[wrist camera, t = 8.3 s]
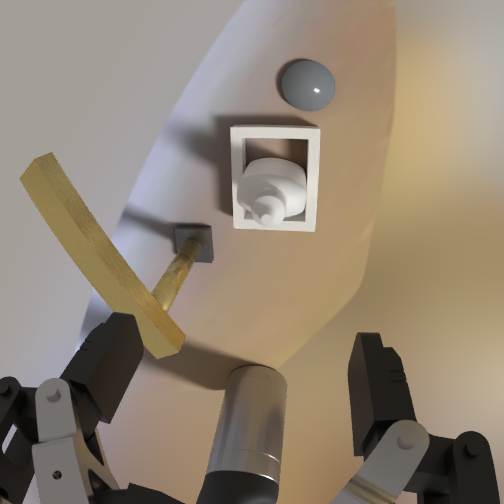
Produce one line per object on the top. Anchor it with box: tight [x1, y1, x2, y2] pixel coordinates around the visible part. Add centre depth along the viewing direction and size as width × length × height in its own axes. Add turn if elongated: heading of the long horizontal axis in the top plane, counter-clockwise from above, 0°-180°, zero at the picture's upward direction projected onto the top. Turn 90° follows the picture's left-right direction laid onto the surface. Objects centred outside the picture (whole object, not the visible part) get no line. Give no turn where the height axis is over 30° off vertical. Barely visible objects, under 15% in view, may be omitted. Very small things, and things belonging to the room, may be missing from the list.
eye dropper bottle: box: [237, 158, 307, 227], centre depth 26 cm, size 4×6×12 cm
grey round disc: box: [281, 60, 335, 111], centre depth 26 cm, size 5×5×1 cm
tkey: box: [20, 152, 201, 359], centre depth 27 cm, size 18×2×14 cm, turn 31°
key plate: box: [174, 226, 214, 263], centre depth 36 cm, size 4×4×1 cm
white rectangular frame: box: [230, 125, 320, 232], centre depth 30 cm, size 10×8×2 cm
